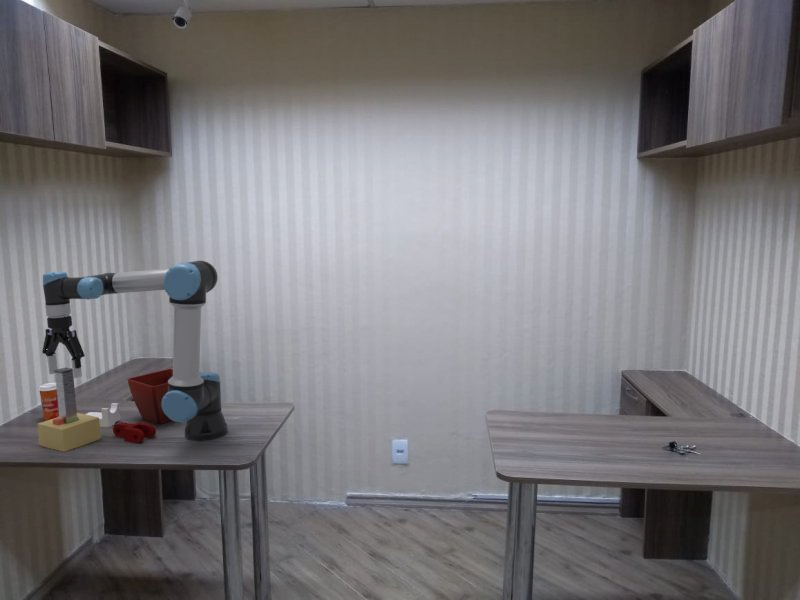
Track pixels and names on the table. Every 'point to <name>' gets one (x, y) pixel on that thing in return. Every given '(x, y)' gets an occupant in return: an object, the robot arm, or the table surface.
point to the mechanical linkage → (134, 431)
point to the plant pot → (151, 394)
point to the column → (66, 395)
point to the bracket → (107, 415)
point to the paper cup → (49, 401)
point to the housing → (69, 432)
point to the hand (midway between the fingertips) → (65, 375)
